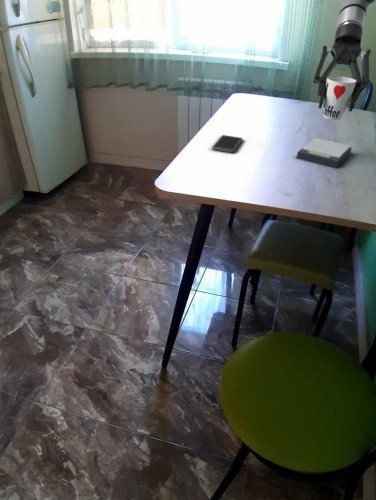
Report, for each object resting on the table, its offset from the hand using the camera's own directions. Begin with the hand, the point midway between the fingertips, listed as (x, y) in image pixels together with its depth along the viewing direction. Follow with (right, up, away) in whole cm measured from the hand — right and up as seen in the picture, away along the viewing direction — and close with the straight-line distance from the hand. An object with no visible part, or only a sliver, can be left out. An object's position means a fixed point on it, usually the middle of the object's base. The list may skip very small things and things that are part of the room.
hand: (336, 107), depth 119 cm
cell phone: (-30, -3, +19) cm, 35 cm away
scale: (+1, -8, +15) cm, 17 cm away
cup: (+1, -1, +5) cm, 5 cm away
